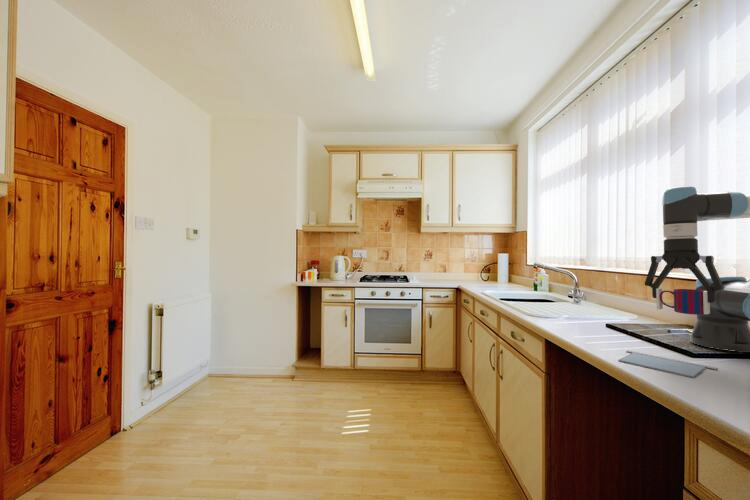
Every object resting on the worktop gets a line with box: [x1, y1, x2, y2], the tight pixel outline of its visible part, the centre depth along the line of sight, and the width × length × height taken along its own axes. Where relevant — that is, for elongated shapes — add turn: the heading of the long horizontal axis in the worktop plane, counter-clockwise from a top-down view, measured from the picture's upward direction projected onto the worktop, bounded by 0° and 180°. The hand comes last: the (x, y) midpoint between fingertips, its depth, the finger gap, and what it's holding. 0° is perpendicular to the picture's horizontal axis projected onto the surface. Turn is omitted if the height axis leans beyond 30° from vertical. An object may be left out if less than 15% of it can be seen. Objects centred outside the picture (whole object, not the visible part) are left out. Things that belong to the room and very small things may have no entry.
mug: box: [659, 288, 704, 316], centre depth 97 cm, size 7×10×7 cm
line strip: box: [625, 349, 719, 371], centre depth 94 cm, size 2×20×1 cm, turn 33°
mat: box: [617, 353, 706, 379], centre depth 90 cm, size 11×16×1 cm
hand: (682, 311), depth 97 cm, fingers closed on mug, 10 cm apart
